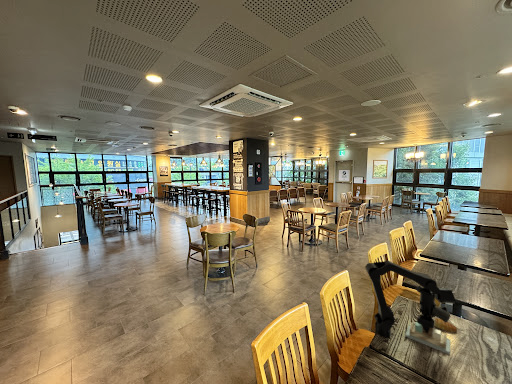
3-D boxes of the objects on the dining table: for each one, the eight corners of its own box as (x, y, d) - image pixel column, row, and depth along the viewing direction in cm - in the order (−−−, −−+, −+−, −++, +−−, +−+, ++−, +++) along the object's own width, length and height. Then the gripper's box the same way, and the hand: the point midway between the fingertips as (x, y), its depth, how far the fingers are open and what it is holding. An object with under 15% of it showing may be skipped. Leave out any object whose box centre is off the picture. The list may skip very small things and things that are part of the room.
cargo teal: (415, 330, 109) (415, 324, 109) (415, 327, 111) (415, 321, 111) (422, 333, 107) (422, 327, 107) (423, 329, 109) (423, 324, 109)
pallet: (409, 334, 109) (409, 321, 109) (411, 327, 114) (411, 314, 113) (445, 348, 99) (445, 334, 99) (446, 340, 104) (446, 326, 104)
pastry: (456, 328, 115) (456, 321, 115) (457, 335, 110) (457, 328, 110) (434, 321, 121) (433, 315, 121) (434, 328, 116) (434, 321, 116)
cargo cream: (432, 337, 104) (432, 331, 104) (433, 333, 106) (433, 328, 106) (440, 340, 102) (440, 334, 102) (440, 336, 104) (440, 331, 104)
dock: (405, 339, 109) (405, 334, 109) (408, 328, 116) (408, 324, 116) (449, 357, 97) (449, 352, 97) (450, 344, 104) (450, 339, 104)
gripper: (448, 316, 93) (448, 349, 94) (449, 298, 106) (449, 327, 107) (417, 306, 101) (417, 337, 102) (422, 290, 114) (422, 317, 115)
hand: (427, 329), depth 106 cm, fingers open, 5 cm apart
